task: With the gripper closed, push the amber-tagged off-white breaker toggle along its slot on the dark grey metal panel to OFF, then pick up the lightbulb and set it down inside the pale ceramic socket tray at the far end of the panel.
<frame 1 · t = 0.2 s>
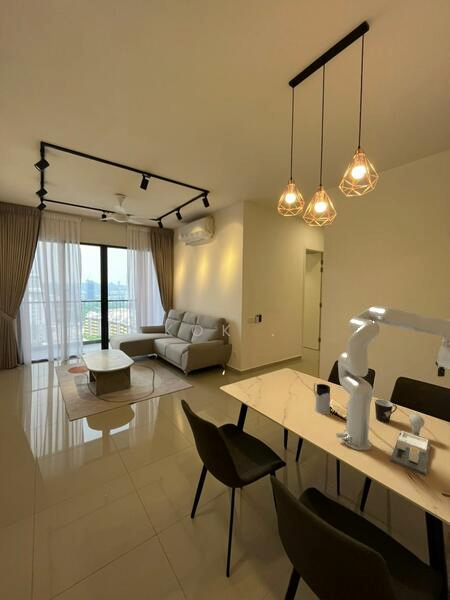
toggle tagged: (414, 454, 108), point 4 cm above the table, slide at 0.0 cm
grey black pitcher: (319, 408, 154), on the table
panel: (411, 453, 114), on the table
toggle 2: (402, 443, 116), point 4 cm above the table, slide at 6.0 cm
coffee mug: (385, 420, 142), on the table
lightbulb: (415, 436, 127), on the table
socket tray: (413, 445, 120), resting on panel
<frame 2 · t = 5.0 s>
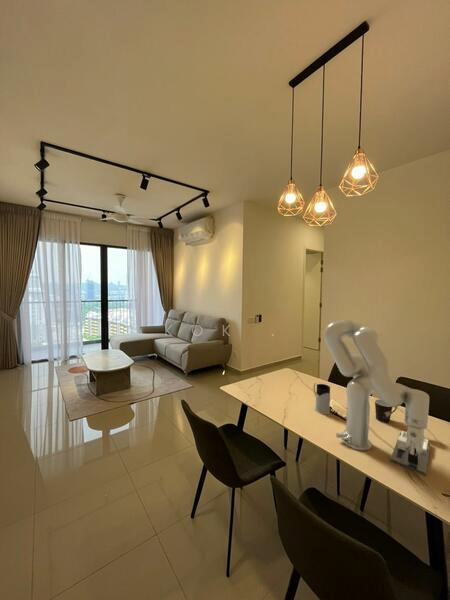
hand: (412, 462, 105), 2 cm above the table, fingers closed
toggle tagged: (414, 453, 108), point 4 cm above the table, slide at 0.4 cm, touching gripper
everything else where it was.
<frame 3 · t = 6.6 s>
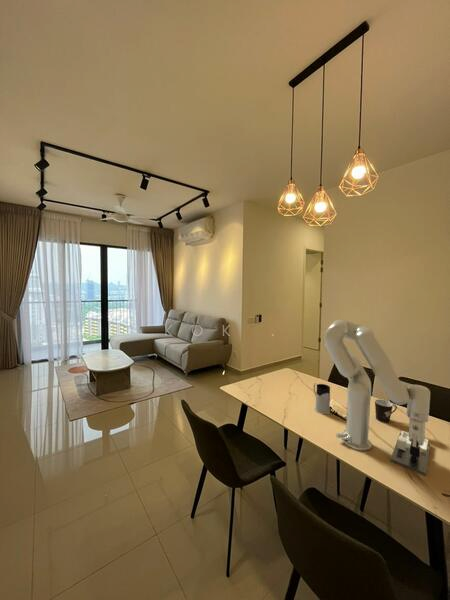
hand: (414, 454, 110), 2 cm above the table, fingers closed
toggle tagged: (415, 446, 113), point 4 cm above the table, slide at 6.9 cm, touching gripper
everything else where it was.
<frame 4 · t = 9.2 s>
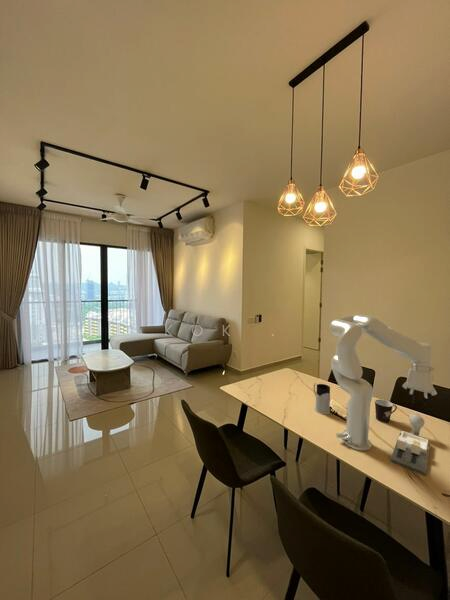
hand: (418, 402, 126), 17 cm above the table, fingers open, 3 cm apart
toggle tagged: (415, 446, 113), point 4 cm above the table, slide at 6.9 cm
everything else where it was.
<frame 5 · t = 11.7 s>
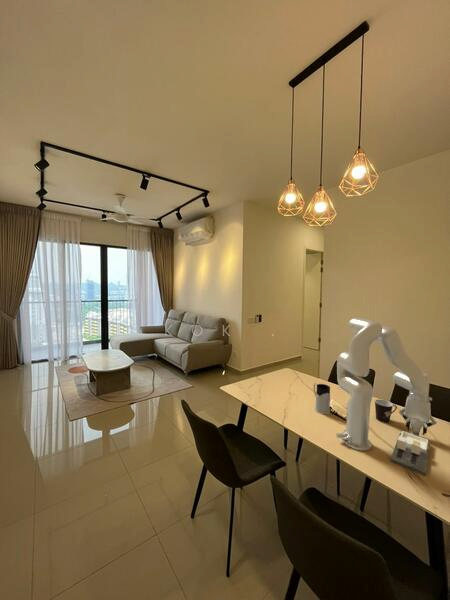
hand: (416, 431, 127), 3 cm above the table, fingers closed on lightbulb, 5 cm apart
lightbulb: (415, 436, 127), on the table, touching gripper
everything else where it was.
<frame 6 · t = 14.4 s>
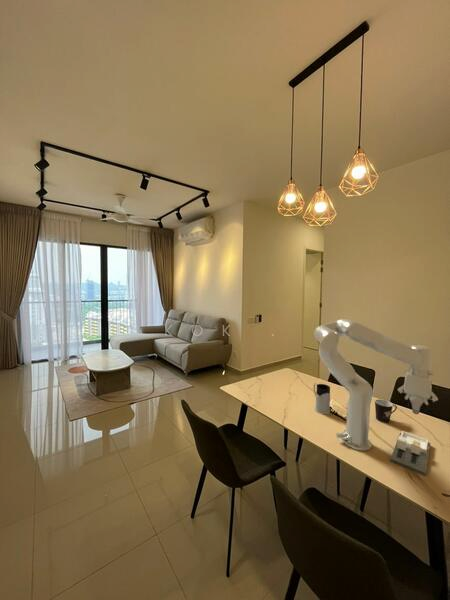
hand: (415, 409, 119), 18 cm above the table, fingers closed on lightbulb, 5 cm apart
lightbulb: (415, 414, 119), point 15 cm above the table, touching gripper
everything else where it was.
when the fingers open (5 cm above the table, at t = 17.0 s): lightbulb drops 1 cm, resting on socket tray.
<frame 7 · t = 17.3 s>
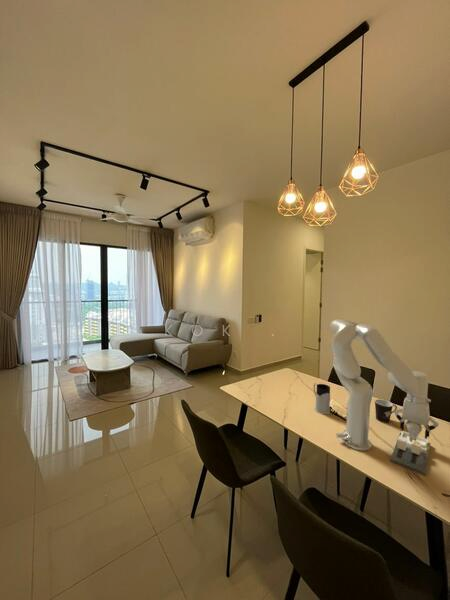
hand: (414, 433, 120), 6 cm above the table, fingers open, 8 cm apart
lightbulb: (412, 442, 120), point 1 cm above the table, touching socket tray
everything else where it was.
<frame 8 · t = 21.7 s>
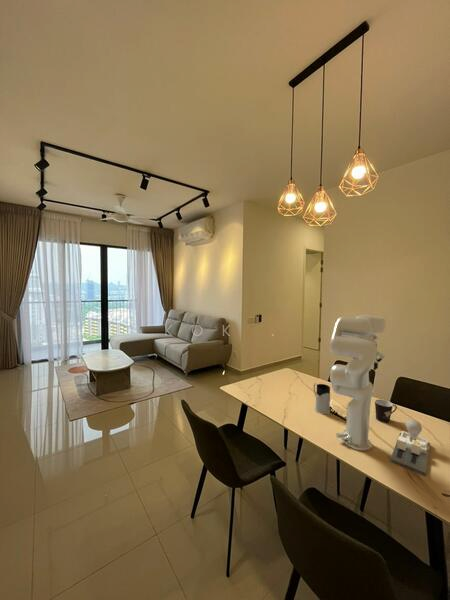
hand: (365, 367, 140), 30 cm above the table, fingers open, 9 cm apart
nothing on the table moved.
at the end: toggle tagged slide at 6.9 cm; lightbulb inside the target area (0.3 cm from its centre), point 1.1 cm above the table; lightbulb tilted 0° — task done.
